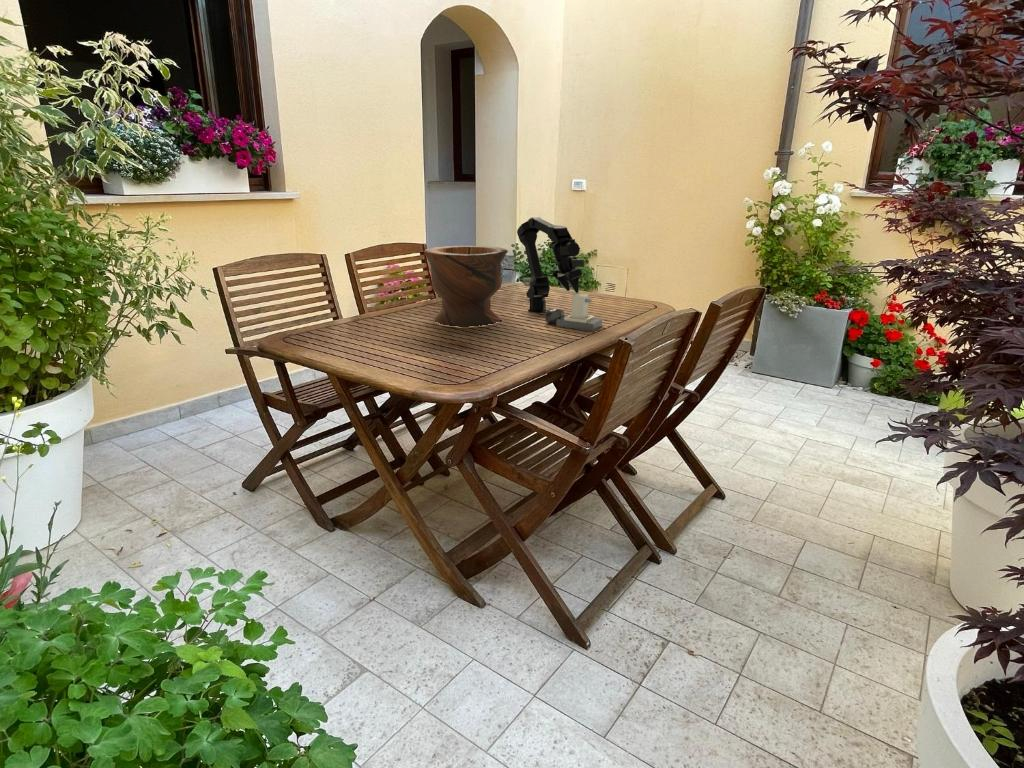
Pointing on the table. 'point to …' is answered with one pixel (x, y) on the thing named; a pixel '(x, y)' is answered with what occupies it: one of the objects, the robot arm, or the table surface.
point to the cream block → (580, 306)
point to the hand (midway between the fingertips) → (572, 291)
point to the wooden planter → (466, 283)
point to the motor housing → (572, 320)
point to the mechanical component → (526, 282)
